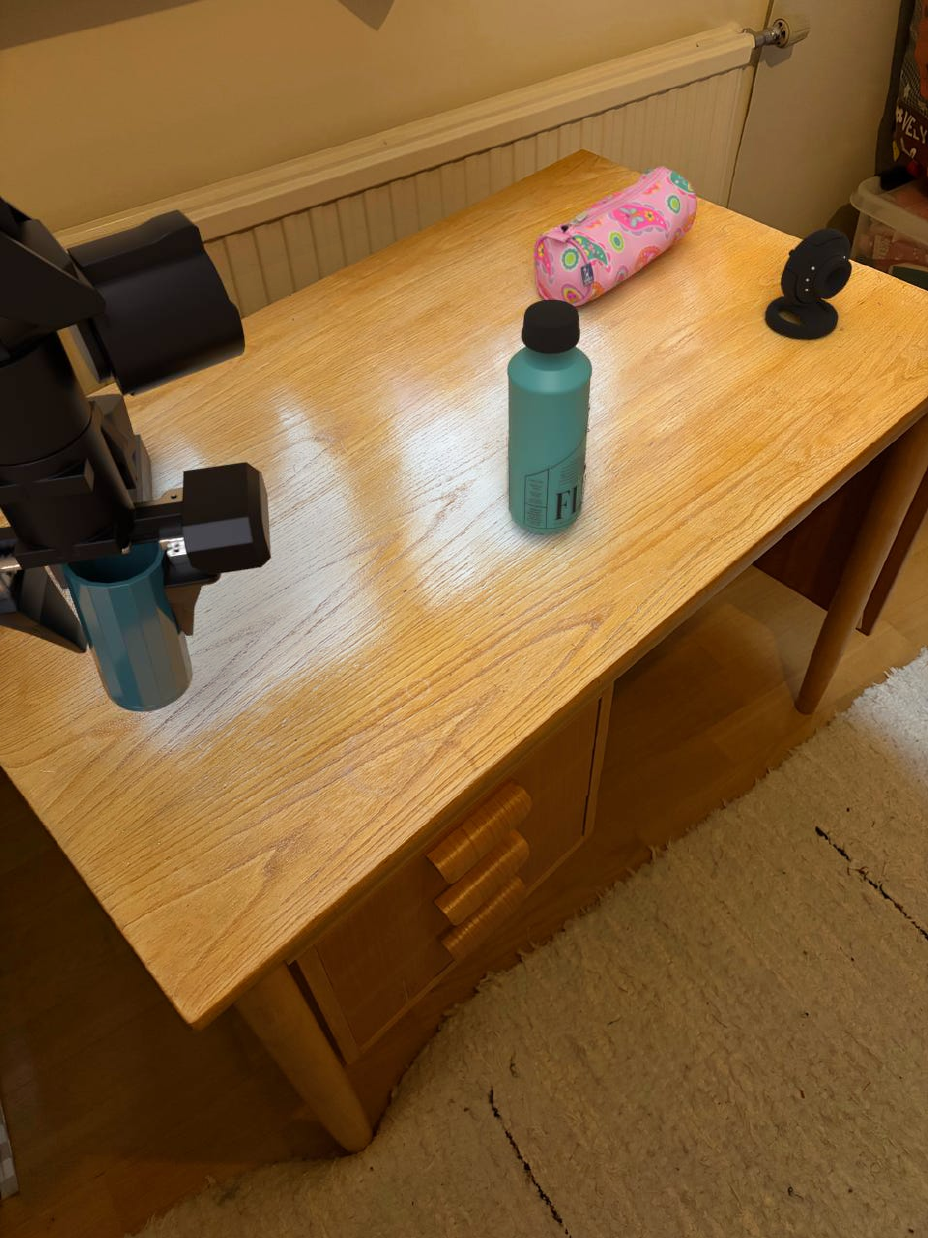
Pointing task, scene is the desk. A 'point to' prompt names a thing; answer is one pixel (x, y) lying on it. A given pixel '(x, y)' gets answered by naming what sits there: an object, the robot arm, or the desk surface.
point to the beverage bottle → (548, 419)
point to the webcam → (812, 285)
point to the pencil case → (614, 237)
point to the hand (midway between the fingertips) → (137, 638)
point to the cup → (131, 627)
